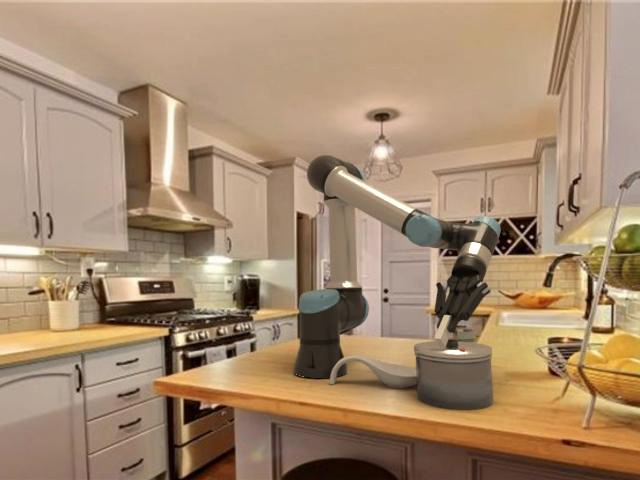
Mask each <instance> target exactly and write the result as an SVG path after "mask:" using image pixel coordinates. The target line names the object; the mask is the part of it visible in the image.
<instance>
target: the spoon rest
mask: <svg viewBox="0 0 640 480" xmlns="http://www.w3.org/2000/svg"><path fill="white" fill-rule="evenodd" d="M351 362H358V363H361V364H363V365H365V366H366V367H367V368H368V369H369V370H370V371H372V372H373V374H374V375H375V376H377V378H378V379H379V380H380V381H382V383H383V384H385V385H386V386H387V387H389V388H394V389H407V388H410V387H413V386H415V385H417V378H416V367H412V366H407V365H401V364H394V363H390V362H385V361H382V360H379V359H375V358H372V357H369V356H365V355H361V354H360V355H359V354H353V355H351V354H350V355H348V356H344V358H342V359H341V360H339V361H338V362H337V364H336V365H335V366H334V368H333V370H332V372H331V376H330V378H329V384H330V385H334V384H336V382H337V378H338V377H337V372H338V369H339V368H340V367H341V366H342V365H343V364H345V363H346V364H347V363H351Z"/></svg>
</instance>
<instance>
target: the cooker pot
mask: <svg viewBox="0 0 640 480" xmlns="http://www.w3.org/2000/svg"><path fill="white" fill-rule="evenodd" d="M414 356H415V368H416V378H417V384H416V397H417V400H418V401H420V402H421V403H423V404H425V405H429V406H432V407H436V408H440V409H445V410H455V411H458V410H460V411H472V410H481V409H482V410H483V409H485V408H488V407H491V406H492V405H493V404H494V391H493V389H494V388H493V387H494V386H493V375H492V374H493V373H492V372H493V370H492V356H493V353H492V354H491V355H490V356H487V357H482V358H473V359H448V358H436V357H429V356H424V355H420V354H417V353H416V352H414Z"/></svg>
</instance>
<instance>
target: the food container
mask: <svg viewBox="0 0 640 480" xmlns="http://www.w3.org/2000/svg"><path fill="white" fill-rule="evenodd" d="M476 337H477V336H476V332H475V331H474V329H473V328H468V327H467V328H466V327H456V330H455V332H454V333H452V339H458V341H462V342H473V343H475V342H474V341H475V340H474V339H476Z"/></svg>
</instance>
